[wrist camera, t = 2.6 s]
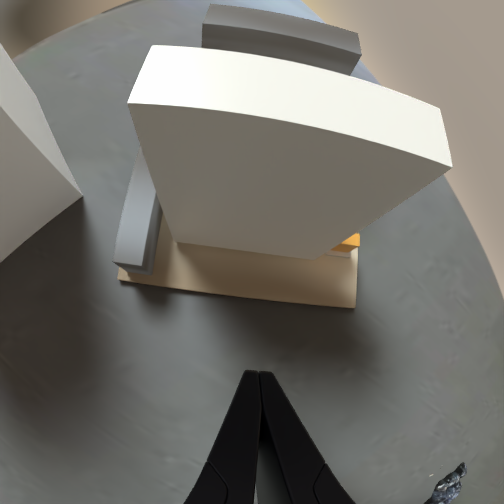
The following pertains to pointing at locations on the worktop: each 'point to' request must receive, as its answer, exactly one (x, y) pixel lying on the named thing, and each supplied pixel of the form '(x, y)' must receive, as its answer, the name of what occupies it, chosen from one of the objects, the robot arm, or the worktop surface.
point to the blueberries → (448, 487)
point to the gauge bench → (229, 260)
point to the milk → (27, 163)
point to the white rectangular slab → (278, 150)
